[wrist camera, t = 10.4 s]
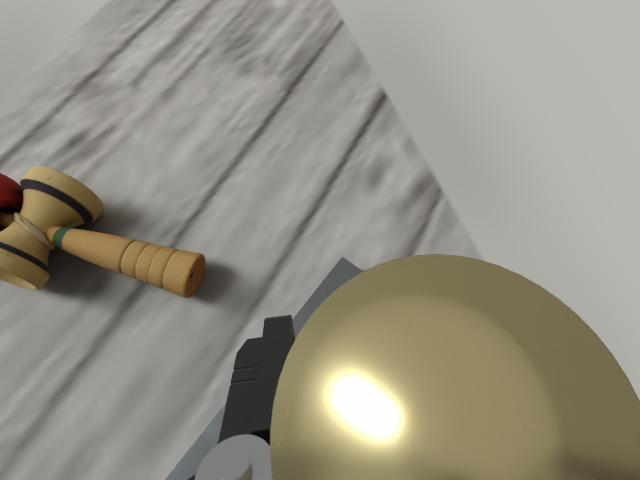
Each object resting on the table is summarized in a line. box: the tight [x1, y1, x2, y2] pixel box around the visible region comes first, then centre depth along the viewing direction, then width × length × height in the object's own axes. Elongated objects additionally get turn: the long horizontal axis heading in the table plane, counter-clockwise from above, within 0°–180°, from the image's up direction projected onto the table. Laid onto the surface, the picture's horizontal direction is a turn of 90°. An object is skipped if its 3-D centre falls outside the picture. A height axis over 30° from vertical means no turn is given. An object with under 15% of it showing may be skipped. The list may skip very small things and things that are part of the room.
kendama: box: [0, 166, 205, 298], centre depth 22 cm, size 8×6×18 cm
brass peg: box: [270, 254, 640, 480], centre depth 9 cm, size 4×4×10 cm
